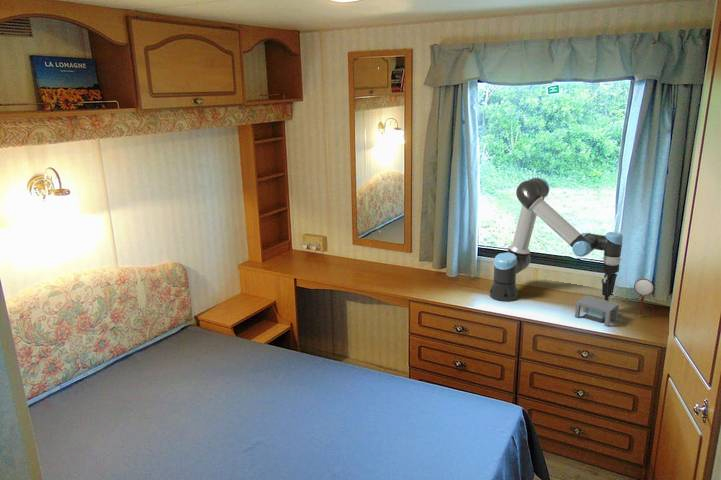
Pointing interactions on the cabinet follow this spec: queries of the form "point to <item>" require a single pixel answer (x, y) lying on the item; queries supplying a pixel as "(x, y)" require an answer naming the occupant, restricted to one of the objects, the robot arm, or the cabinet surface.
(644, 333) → the cabinet surface
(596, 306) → the grey footstool
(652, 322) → the cabinet surface
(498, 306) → the cabinet surface
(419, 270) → the cabinet surface
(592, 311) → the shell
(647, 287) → the magnifying glass
